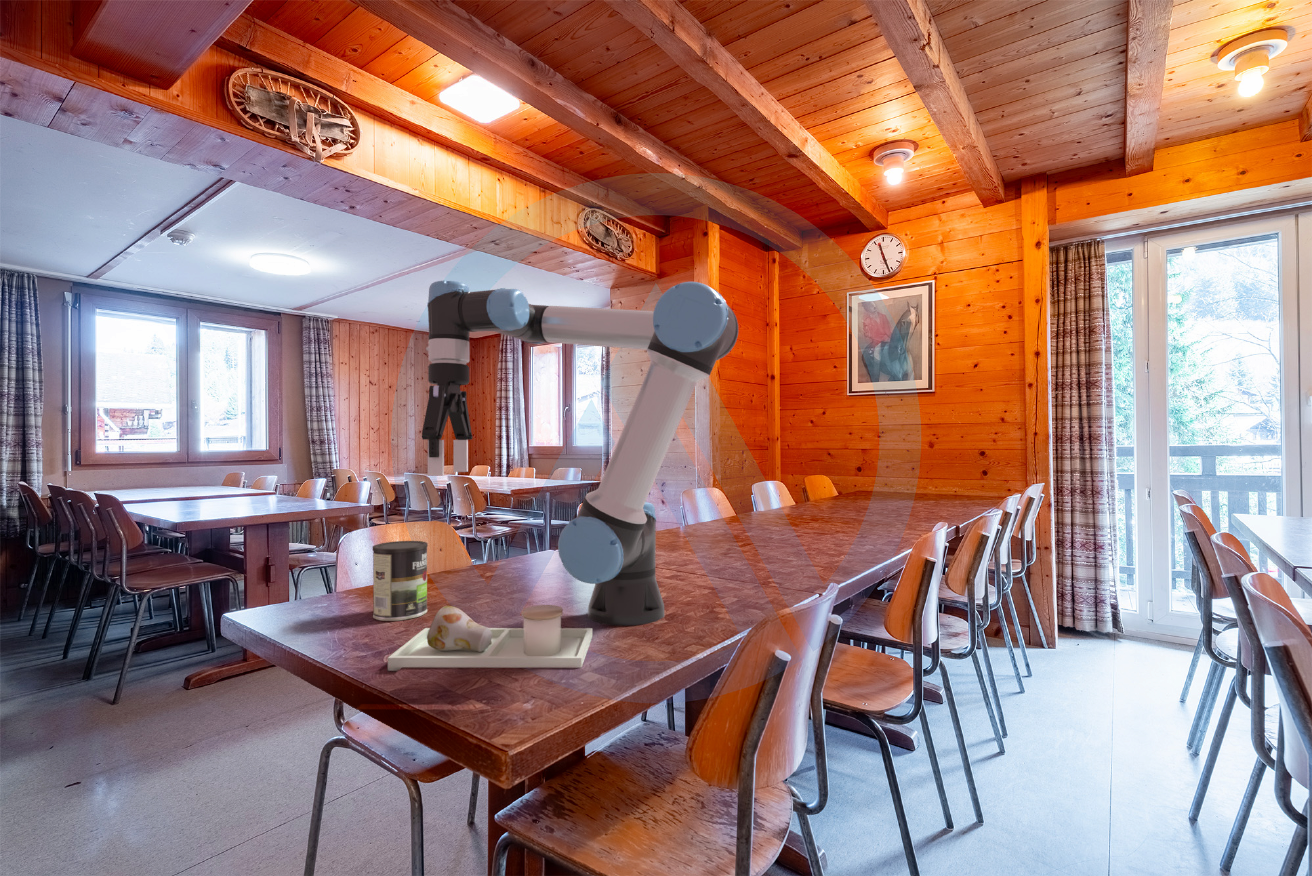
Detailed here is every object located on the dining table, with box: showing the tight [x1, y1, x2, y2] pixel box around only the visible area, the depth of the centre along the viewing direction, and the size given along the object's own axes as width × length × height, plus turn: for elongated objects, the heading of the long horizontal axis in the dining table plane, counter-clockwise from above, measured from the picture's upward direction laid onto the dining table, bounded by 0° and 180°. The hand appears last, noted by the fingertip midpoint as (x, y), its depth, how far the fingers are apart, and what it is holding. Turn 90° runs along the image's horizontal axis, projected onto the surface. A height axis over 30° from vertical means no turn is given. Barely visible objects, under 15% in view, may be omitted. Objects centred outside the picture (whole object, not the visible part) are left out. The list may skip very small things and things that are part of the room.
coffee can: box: [372, 540, 429, 622], centre depth 122 cm, size 10×10×14 cm
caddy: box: [387, 627, 593, 672], centre depth 99 cm, size 30×15×2 cm, turn 89°
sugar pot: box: [521, 604, 564, 656], centre depth 99 cm, size 7×7×7 cm
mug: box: [427, 605, 492, 652], centre depth 100 cm, size 8×10×10 cm
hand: (449, 473), depth 116 cm, fingers open, 13 cm apart
